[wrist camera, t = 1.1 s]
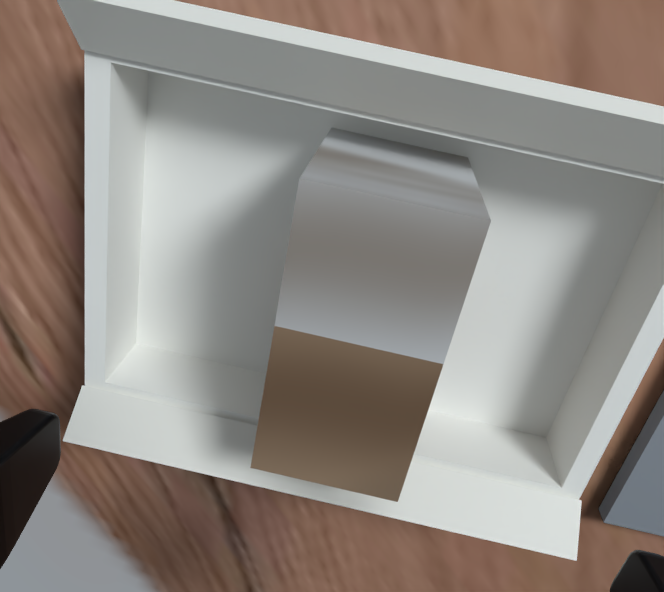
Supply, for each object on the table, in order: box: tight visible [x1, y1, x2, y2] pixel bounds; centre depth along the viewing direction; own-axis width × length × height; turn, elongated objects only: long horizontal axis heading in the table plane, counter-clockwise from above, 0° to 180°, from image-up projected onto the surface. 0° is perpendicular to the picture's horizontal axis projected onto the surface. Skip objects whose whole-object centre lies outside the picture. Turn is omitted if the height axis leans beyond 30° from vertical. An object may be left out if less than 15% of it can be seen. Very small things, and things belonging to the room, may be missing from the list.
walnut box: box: [250, 127, 491, 502], centre depth 15 cm, size 7×4×5 cm, turn 169°
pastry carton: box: [57, 0, 664, 561], centre depth 16 cm, size 12×15×4 cm
